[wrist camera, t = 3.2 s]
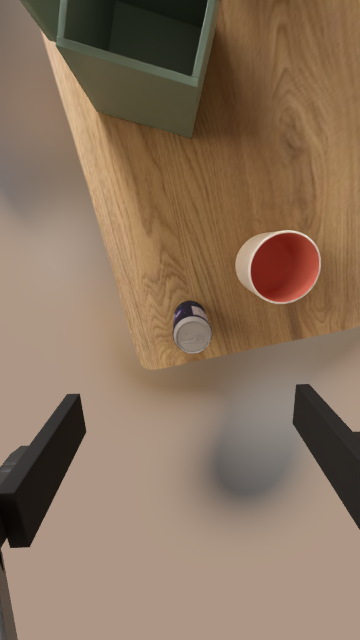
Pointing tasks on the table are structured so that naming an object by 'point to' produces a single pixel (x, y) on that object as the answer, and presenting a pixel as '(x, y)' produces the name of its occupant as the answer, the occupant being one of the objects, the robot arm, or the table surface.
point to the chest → (140, 57)
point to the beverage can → (191, 327)
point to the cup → (279, 265)
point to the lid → (45, 15)
